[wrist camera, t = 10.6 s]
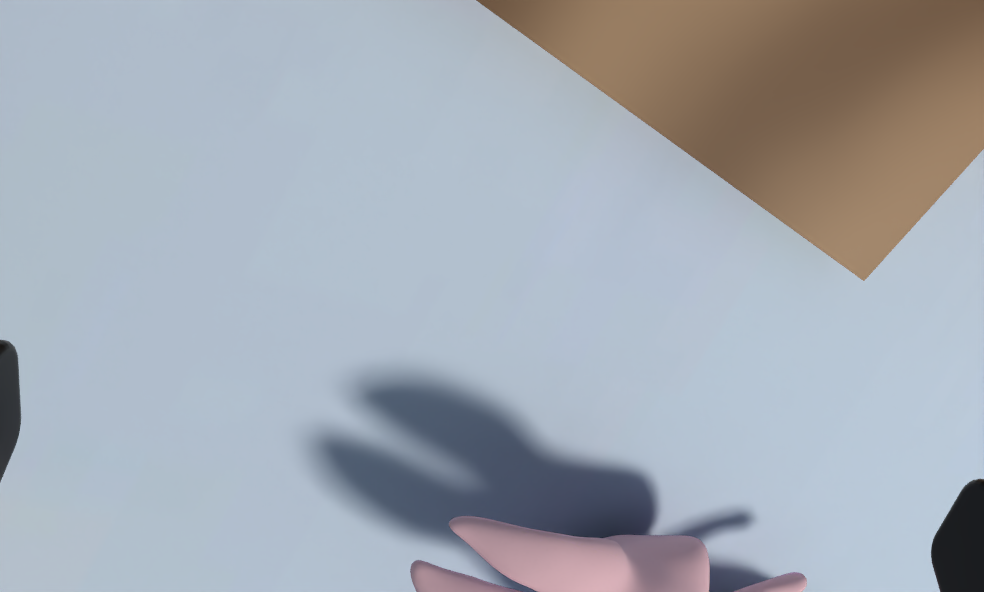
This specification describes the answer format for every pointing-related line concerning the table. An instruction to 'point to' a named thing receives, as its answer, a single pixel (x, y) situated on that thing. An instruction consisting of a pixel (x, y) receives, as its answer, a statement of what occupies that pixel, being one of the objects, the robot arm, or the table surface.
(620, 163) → the table surface
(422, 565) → the rabbit figure
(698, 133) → the walnut board
